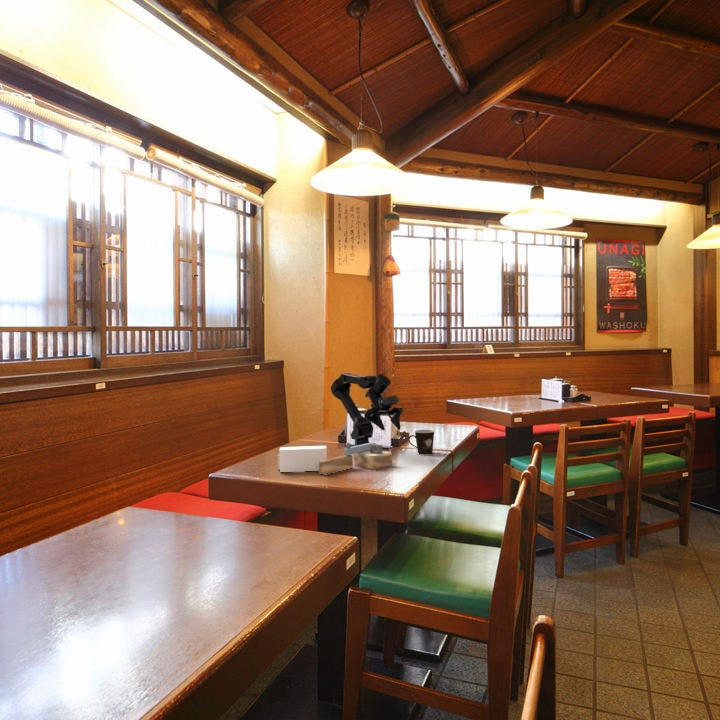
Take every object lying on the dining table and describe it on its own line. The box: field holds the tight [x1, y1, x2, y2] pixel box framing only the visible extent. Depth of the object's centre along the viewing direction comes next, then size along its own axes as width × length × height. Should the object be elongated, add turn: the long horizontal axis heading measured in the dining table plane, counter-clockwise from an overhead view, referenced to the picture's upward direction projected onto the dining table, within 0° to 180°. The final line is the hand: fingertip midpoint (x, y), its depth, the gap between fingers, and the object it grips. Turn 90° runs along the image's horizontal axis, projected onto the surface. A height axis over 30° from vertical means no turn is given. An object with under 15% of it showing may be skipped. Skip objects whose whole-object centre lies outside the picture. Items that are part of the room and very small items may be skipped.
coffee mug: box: [407, 429, 435, 455], centre depth 248 cm, size 12×9×10 cm
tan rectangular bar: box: [318, 454, 354, 476], centre depth 220 cm, size 3×15×5 cm, turn 133°
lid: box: [354, 444, 392, 459], centre depth 227 cm, size 12×10×5 cm
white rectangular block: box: [276, 445, 328, 473], centre depth 223 cm, size 20×6×9 cm, turn 91°
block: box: [343, 441, 377, 456], centre depth 228 cm, size 2×16×4 cm, turn 133°
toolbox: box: [353, 454, 393, 471], centre depth 227 cm, size 12×10×4 cm
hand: (391, 429), depth 236 cm, fingers open, 9 cm apart
